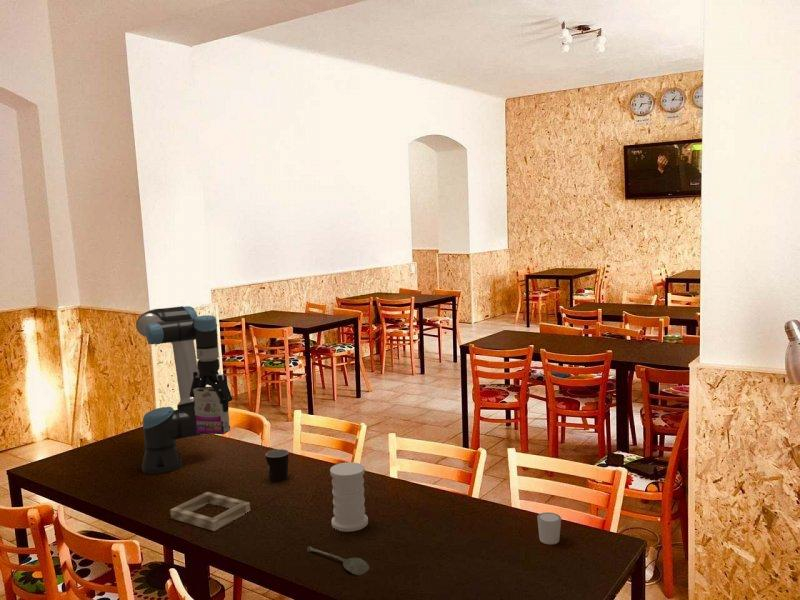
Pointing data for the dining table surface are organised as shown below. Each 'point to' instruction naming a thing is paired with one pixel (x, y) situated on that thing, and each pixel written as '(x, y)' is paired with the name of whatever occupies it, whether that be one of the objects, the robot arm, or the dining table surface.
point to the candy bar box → (208, 412)
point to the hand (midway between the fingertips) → (212, 418)
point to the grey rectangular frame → (188, 516)
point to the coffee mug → (277, 464)
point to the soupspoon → (348, 563)
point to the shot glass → (549, 527)
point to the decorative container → (348, 497)
